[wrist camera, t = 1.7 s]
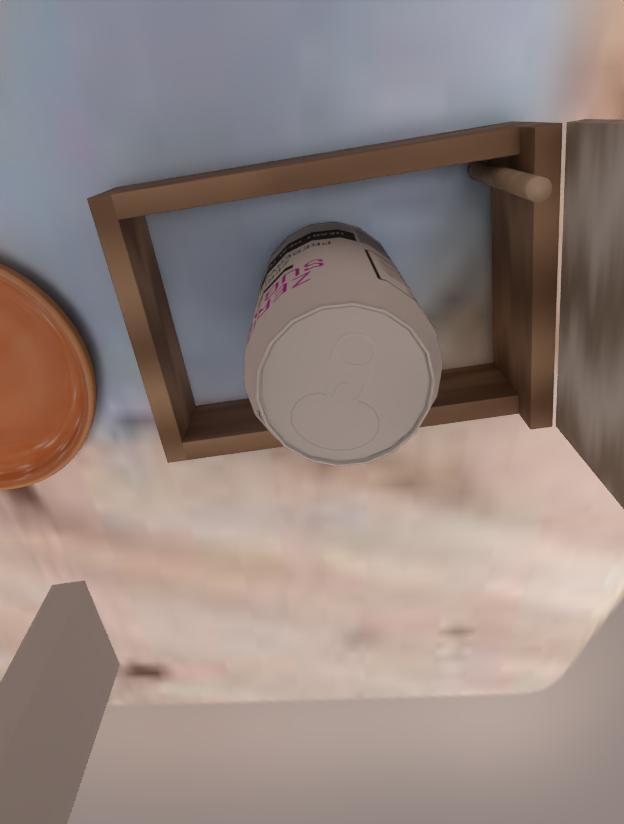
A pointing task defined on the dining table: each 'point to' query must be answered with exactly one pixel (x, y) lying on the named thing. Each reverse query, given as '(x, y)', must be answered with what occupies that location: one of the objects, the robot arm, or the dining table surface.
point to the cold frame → (512, 283)
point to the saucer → (40, 384)
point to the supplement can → (339, 349)
